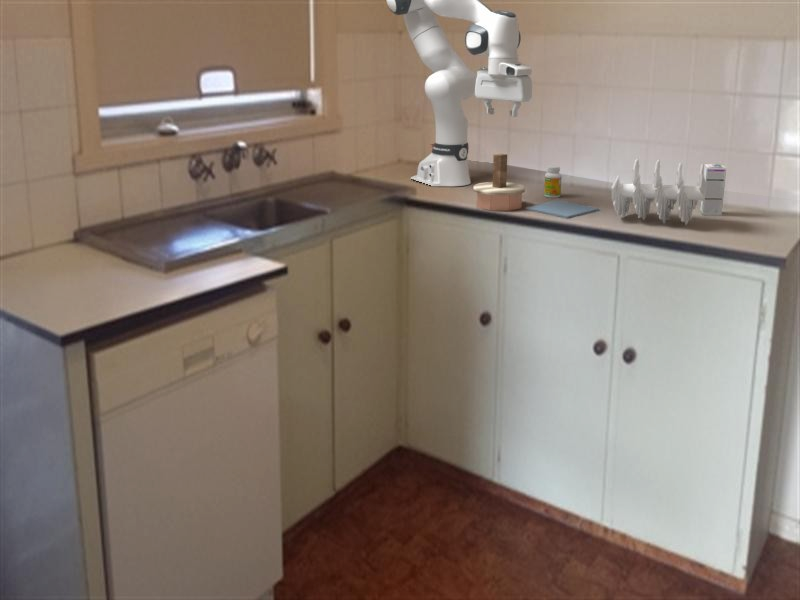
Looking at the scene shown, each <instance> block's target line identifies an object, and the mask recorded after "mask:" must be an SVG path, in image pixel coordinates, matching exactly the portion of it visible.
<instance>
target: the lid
mask: <svg viewBox="0 0 800 600" xmlns="http://www.w3.org/2000/svg"><path fill="white" fill-rule="evenodd" d="M492 159H493V162H492V163H493V164H492V181H486V182H485V181H484V182H479V183H475V184H474V185H473V191H474V192H476V193H477V192H478V193H482V194H488V195H515V194H520V193H522V194H523V193H525V192H526V186H525V185H523V184H521V183H515V182H508V181H507V178H508V173H507V172H508V154H507V153H506V154H505V153H495V154H493V158H492Z"/></svg>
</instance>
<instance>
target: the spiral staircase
mask: <svg viewBox="0 0 800 600" xmlns="http://www.w3.org/2000/svg"><path fill="white" fill-rule="evenodd" d="M639 163H640V159H639V158H636V159H635V160H634V162H633V167H632V181H631V183H621V180H620V175H617V176H616V177H615V180H614V181H613V184H612V186H611V187H610V189H611V191H610V192H611V201H612V202H613V203H612V205H613V209H614V212H616V215H617V216H621V219H624V217H625V215H626V214H629V211H630V206H631V203H632V205H634V211H635V214H636V215H637V218H638V219H641V218H642V220H643V221H645V219H646V217H647V215H649V214H650V209H651V204H652V203H653V202H654V203H655V204H656V205H655V207H656V208H655V209H656V215H658V219H659V220H660V221H662V224H666V221H669V220H670V217H671V211H672V210H674V208H675V205H676V207H678V209H677V211H678V217H679V219H680V218H681V219H680V222H682V223H684V225H685V226H688V223H689V221H692V217H693V210H696V206H698V204H699V201H700V202H701V201H704V197H705V179H704V166H705V164H704V163H702V164H700V167H699V173H698V179H697V183H696V185H685V182H684V178H683V176H682V175H683V171H682V170H683V163H682V162H679V163H678V165H677V171H676V180H675V184H663V178H662V176H661V173H660V168H661V165H660V159H657V160H656V162H655V165H654V170H653V177H654V178H653V181H652V184H647V183H646V184H644V183H641V175H640V172H639V171H640V164H639Z"/></svg>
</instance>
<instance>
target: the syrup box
mask: <svg viewBox="0 0 800 600" xmlns="http://www.w3.org/2000/svg"><path fill="white" fill-rule="evenodd" d="M726 175H727V167H726V166H725V165H724V164H719V163H708V164H706V163H705V164H704V179H705V197H704V201H700V207H699V211H700V213H701V215H702V216H710V217H711V216H712V217H713V216H714V217H715V216H716V217H717V216H718V217H721V216H722V214H723V205H724V198H725V197H724V195H725V186H726Z"/></svg>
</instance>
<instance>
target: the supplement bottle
mask: <svg viewBox="0 0 800 600" xmlns="http://www.w3.org/2000/svg"><path fill="white" fill-rule="evenodd" d="M560 170H561V166H560V165H548V166H547V172H546V173H545V174H544V186H543V187H544V188H543V196H544V197H546V198H553V199H554V198H559V197H561V196H562V195H561V191H562V177H563V176H562V174H561V173H560Z"/></svg>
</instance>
